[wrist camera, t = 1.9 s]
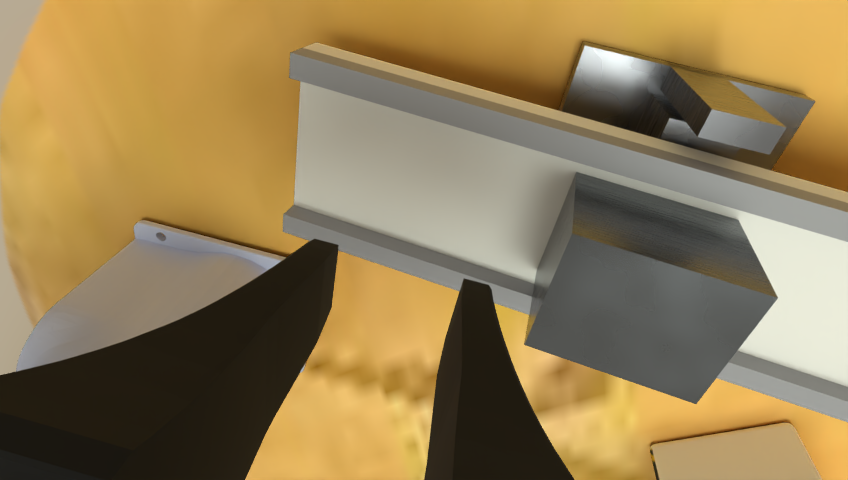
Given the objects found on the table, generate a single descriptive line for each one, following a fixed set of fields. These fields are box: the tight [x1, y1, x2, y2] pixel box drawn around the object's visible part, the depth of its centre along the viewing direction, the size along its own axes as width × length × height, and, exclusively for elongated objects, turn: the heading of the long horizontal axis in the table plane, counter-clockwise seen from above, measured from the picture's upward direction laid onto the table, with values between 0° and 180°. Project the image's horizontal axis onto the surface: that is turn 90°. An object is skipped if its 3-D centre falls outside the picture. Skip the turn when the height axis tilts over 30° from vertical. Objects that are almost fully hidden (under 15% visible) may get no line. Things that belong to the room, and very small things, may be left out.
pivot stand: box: [558, 41, 815, 170], centre depth 18 cm, size 8×10×6 cm
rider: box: [524, 172, 778, 404], centre depth 15 cm, size 5×4×4 cm
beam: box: [283, 42, 848, 422], centre depth 17 cm, size 26×7×5 cm, turn 79°
